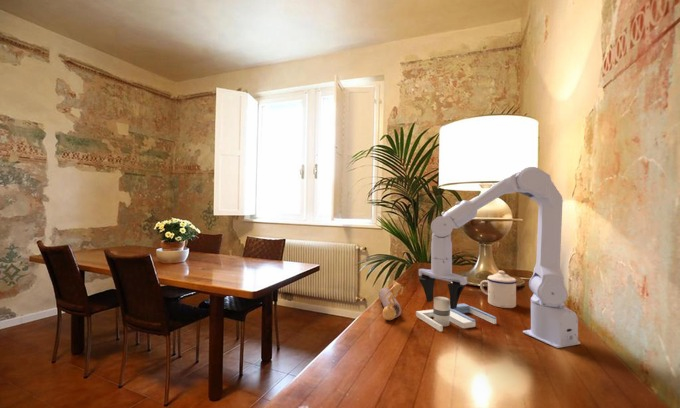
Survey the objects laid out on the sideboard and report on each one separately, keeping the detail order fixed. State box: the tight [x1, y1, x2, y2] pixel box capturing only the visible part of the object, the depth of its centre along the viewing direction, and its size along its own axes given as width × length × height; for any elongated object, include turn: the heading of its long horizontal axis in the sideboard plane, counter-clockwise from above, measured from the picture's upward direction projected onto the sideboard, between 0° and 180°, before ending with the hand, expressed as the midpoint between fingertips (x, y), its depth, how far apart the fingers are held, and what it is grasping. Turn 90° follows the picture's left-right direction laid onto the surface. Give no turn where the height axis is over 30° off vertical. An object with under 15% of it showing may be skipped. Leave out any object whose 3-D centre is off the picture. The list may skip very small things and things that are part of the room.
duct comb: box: [415, 302, 497, 332], centre depth 88 cm, size 12×19×2 cm, turn 107°
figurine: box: [382, 280, 405, 321], centre depth 87 cm, size 8×6×12 cm
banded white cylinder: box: [432, 296, 451, 327], centre depth 86 cm, size 5×5×7 cm
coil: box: [378, 287, 402, 319], centre depth 98 cm, size 5×5×18 cm
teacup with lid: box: [479, 270, 517, 309], centre depth 104 cm, size 12×9×12 cm
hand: (441, 304), depth 86 cm, fingers open, 7 cm apart
